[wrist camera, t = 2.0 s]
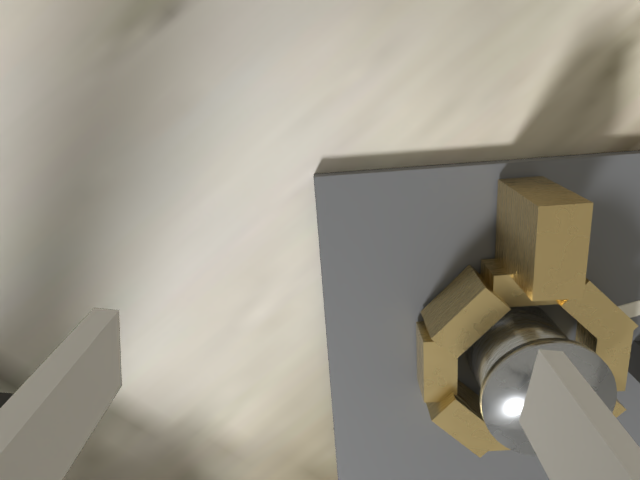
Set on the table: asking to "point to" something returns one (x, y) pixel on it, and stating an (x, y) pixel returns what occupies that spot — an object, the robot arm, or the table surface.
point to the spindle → (526, 370)
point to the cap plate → (428, 281)
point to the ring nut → (517, 301)
